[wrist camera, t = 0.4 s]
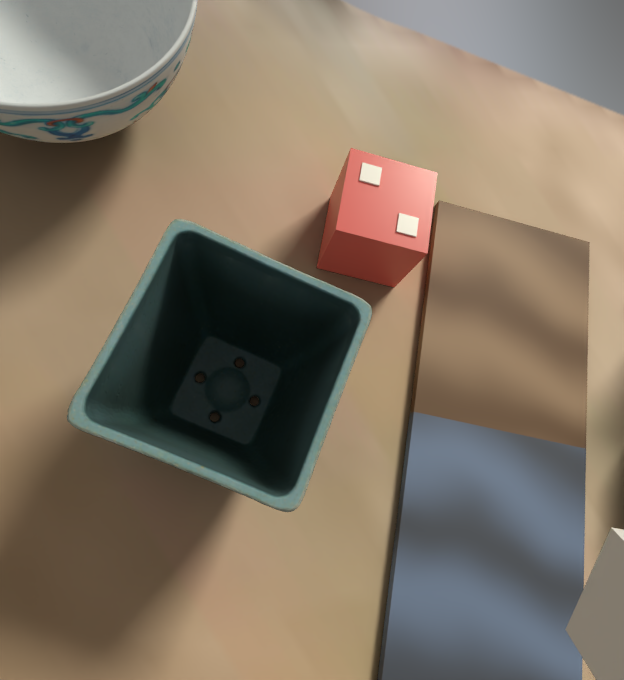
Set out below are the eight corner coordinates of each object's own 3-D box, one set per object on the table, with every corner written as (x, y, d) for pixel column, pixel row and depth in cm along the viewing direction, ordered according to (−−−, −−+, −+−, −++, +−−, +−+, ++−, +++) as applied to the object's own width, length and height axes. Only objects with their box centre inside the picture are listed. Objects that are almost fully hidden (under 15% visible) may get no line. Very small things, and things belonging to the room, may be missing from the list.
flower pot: (270, 501, 25) (297, 518, 17) (112, 436, 25) (58, 421, 16) (328, 353, 28) (377, 303, 20) (187, 291, 27) (174, 212, 19)
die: (394, 287, 30) (428, 252, 25) (316, 268, 29) (336, 228, 24) (404, 217, 31) (438, 171, 26) (330, 197, 31) (351, 146, 26)
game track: (573, 714, 26) (581, 720, 25) (376, 688, 24) (380, 693, 24) (582, 246, 33) (589, 242, 33) (435, 205, 32) (439, 200, 31)
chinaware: (50, 252, 27) (-14, 170, 19) (-124, 64, 27) (-249, -84, 20) (251, 115, 31) (261, 7, 24) (97, -42, 32) (61, -194, 25)
